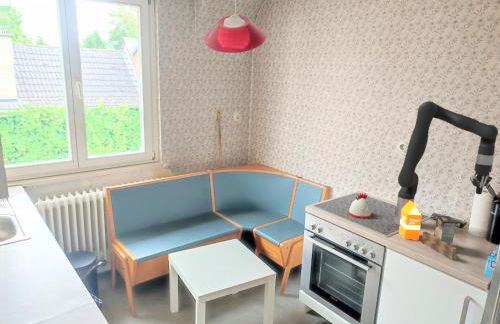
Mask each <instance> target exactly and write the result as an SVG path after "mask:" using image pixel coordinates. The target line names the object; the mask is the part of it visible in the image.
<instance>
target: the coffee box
mask: <svg viewBox="0 0 500 324" xmlns="http://www.w3.org/2000/svg"><path fill="white" fill-rule="evenodd" d="M456 226H457V222H456V221H455V220H454V219H453V218H452V217H451V216H450V215H436V222H435V228H434V234H433V236H435V237H437V238H439V239H440V240H442V241H444V242H446V243H447V244H449V245H451V246H453V244H454V236H455V232H456Z"/></svg>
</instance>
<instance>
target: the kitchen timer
mask: <svg viewBox="0 0 500 324" xmlns="http://www.w3.org/2000/svg"><path fill="white" fill-rule="evenodd" d="M368 196H369V194H366V192H362V193H361V192H360V193H359V194H357V196H355V199H354V200H353V201H352V202H351V204H350V207H349V209H348V215H349V216H350V215H351V217H352V218H356V219H362V220H364V219H365V220H366V219H370V218H371V217H372V208H371V206H370V205H371V204H370V203H369V201H368V200H367V197H368Z"/></svg>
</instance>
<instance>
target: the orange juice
mask: <svg viewBox="0 0 500 324" xmlns="http://www.w3.org/2000/svg"><path fill="white" fill-rule="evenodd" d="M421 222H422V214H421V211H419V209H418V207H417V205H416V204H415V202H414V203H412V202H411V201H409V202H408V203H407V204H406V205H405V206H404V207H403V208H402V212H401V220H400V225H399V229H398V233H399V234H400V235H402V236H403V237H402V236H401V237H402V238H403V239H404V240H409V239H413V240H415V241H419V237H420V230H421Z"/></svg>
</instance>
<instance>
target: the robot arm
mask: <svg viewBox="0 0 500 324" xmlns="http://www.w3.org/2000/svg"><path fill="white" fill-rule="evenodd" d="M433 119H437V120H441V121H443V122H446V123H448V124H450V125H451V126H454V127H455V128H458V129H461V130H463V131H465V132H468V133H472V134H474V135H476V136H478V137H480V143H479V146H478V150H477V155H476V158H475V162H474V163H475V165H474V169H473V170H474V171H475V173H474V175H473V177H472V176H471V177H470V178H469V179H470V182H471V184H472V185H473V186H474V187H475V194H476V195H482V193H483V190H484V188H485V187H487V186H488V185H489V184H490V182H491V181H492V180H493V177H491V176H490V173H492V170H493V163H494V156H495V155H494V154H495V150H496V140H497V136H498V134H499V130H498V128H497V126H496V125H494V124H487V123H484V122H481V121H479V120H477V119H476V118H472V117H470V116H467V115H463V114H461V113H457V112H454V111H452V110H449V109H447V108H445V107H443V106H441V105H439V104H437V103H436V102H434V101H425V102H422V103H420V105H419V106H418V108H417V114H416V120H415V124H414V128H413V131H412V133H411V136H410V139H409V143H408V146H407V148H406V153H405V157H404V160H403V164H402V166H401V169H400V171H399V174H398V177H397V183H398V184H399V186H400V187H401V188H400V189H399V191H397V192H398V193H397V199H396V201H397V202H396V206H395V207H394V208H395V209H394V215H393V217H394V218H393V222H394V223H395V225H398V226H400V220H401V212H402V208H403V207H404V206H405V205H406V204H407V203H408V202H409V201H411V202H412V203H414V204H415V197H416V194H417V192H418V186H419V175H418V174H417V172H416V168H417V167H418V164H419V162H420V161H421V159H422V158H423V156H424V154H425V152H426V149H427V145H428V140H429V132H430V131H429V130H430V127H431V124H432V121H433Z"/></svg>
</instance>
